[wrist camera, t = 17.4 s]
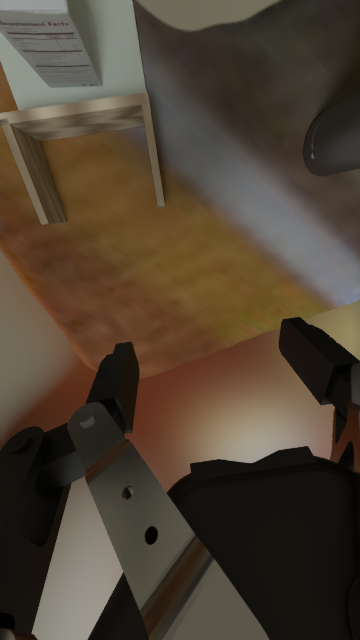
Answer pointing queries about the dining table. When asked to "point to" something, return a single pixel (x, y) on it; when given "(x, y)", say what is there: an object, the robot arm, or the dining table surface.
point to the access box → (68, 122)
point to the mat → (113, 52)
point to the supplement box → (54, 39)
